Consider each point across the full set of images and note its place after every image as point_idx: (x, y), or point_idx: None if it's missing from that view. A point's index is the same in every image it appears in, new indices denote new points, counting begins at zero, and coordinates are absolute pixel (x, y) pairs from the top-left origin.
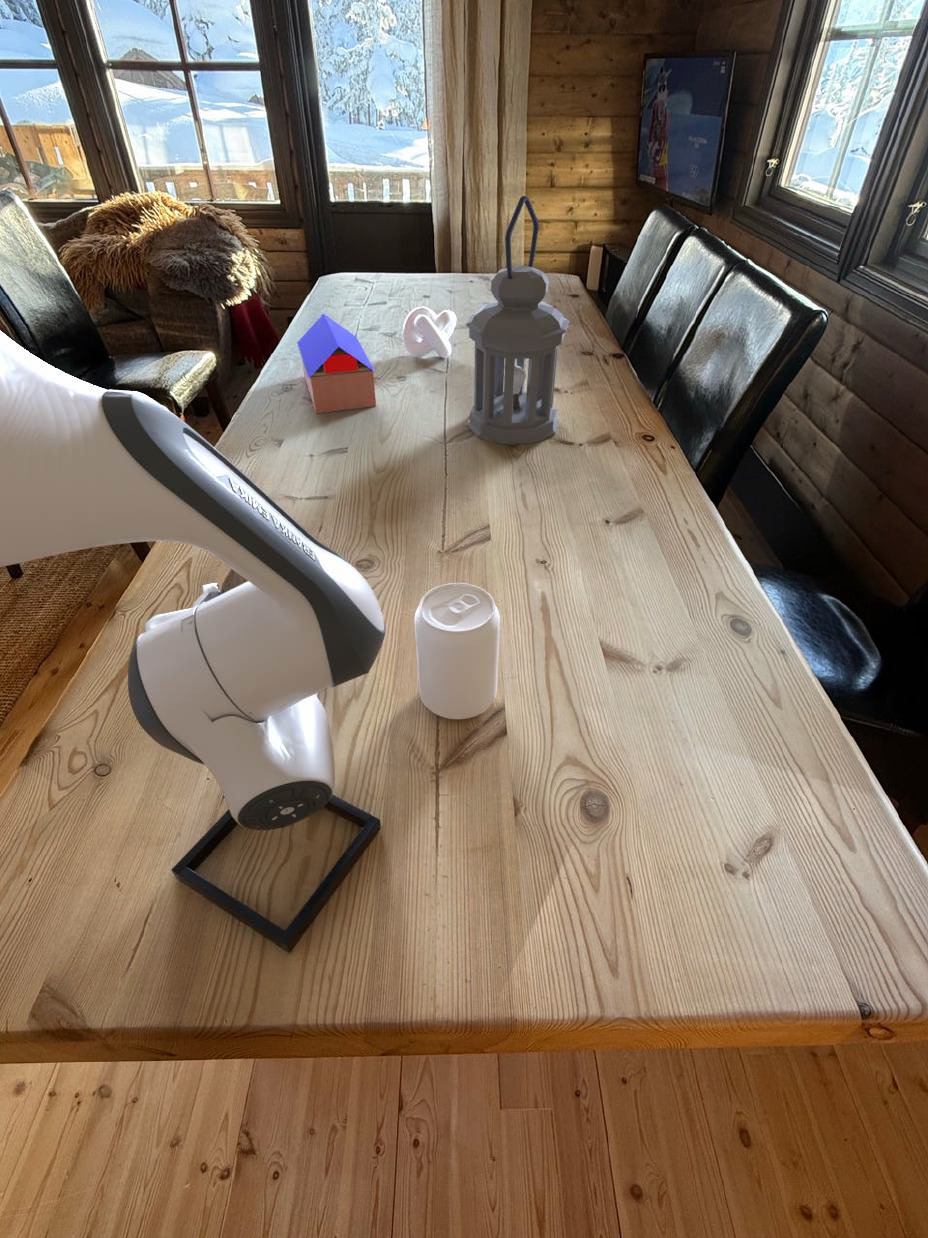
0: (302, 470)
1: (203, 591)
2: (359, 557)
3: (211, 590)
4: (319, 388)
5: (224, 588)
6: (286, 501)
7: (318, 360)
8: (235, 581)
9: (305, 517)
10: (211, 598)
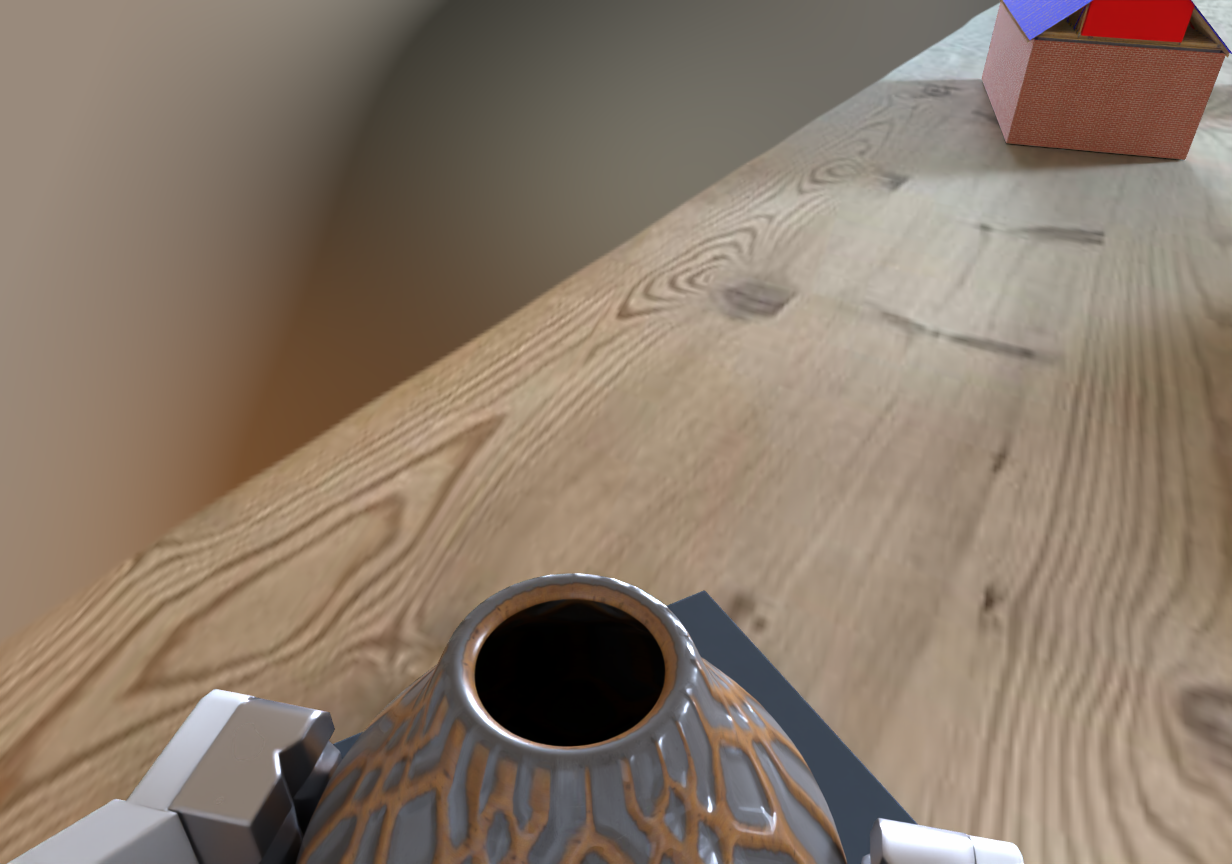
0: (951, 256)
1: (150, 770)
2: (1195, 670)
3: (213, 788)
4: (1045, 76)
5: (320, 817)
6: (883, 328)
7: (1070, 2)
8: (396, 845)
9: (943, 399)
10: (190, 856)
